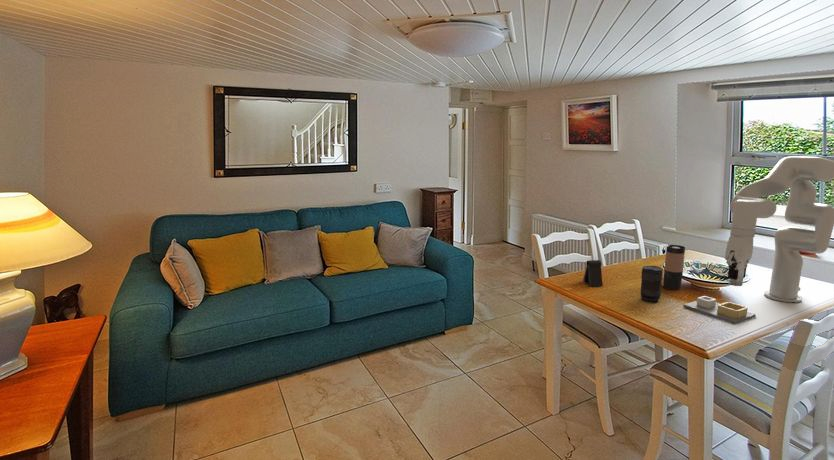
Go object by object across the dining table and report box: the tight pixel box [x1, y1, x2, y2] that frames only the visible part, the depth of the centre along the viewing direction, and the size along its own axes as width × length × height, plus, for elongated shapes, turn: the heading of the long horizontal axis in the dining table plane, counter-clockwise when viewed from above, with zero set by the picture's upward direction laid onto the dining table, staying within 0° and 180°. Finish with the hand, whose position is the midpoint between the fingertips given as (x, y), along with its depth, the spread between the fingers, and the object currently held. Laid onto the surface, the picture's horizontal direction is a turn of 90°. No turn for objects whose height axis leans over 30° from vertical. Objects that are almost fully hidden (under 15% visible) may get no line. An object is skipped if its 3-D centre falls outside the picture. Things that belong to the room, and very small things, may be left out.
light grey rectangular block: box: [728, 259, 746, 287], centre depth 170 cm, size 4×4×10 cm
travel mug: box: [662, 244, 686, 291], centre depth 206 cm, size 8×8×20 cm
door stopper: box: [582, 259, 604, 288], centre depth 214 cm, size 9×6×12 cm, turn 3°
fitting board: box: [683, 295, 757, 325], centre depth 178 cm, size 14×20×4 cm
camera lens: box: [640, 265, 664, 304], centre depth 191 cm, size 8×8×15 cm
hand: (736, 277), depth 170 cm, fingers closed on light grey rectangular block, 4 cm apart
